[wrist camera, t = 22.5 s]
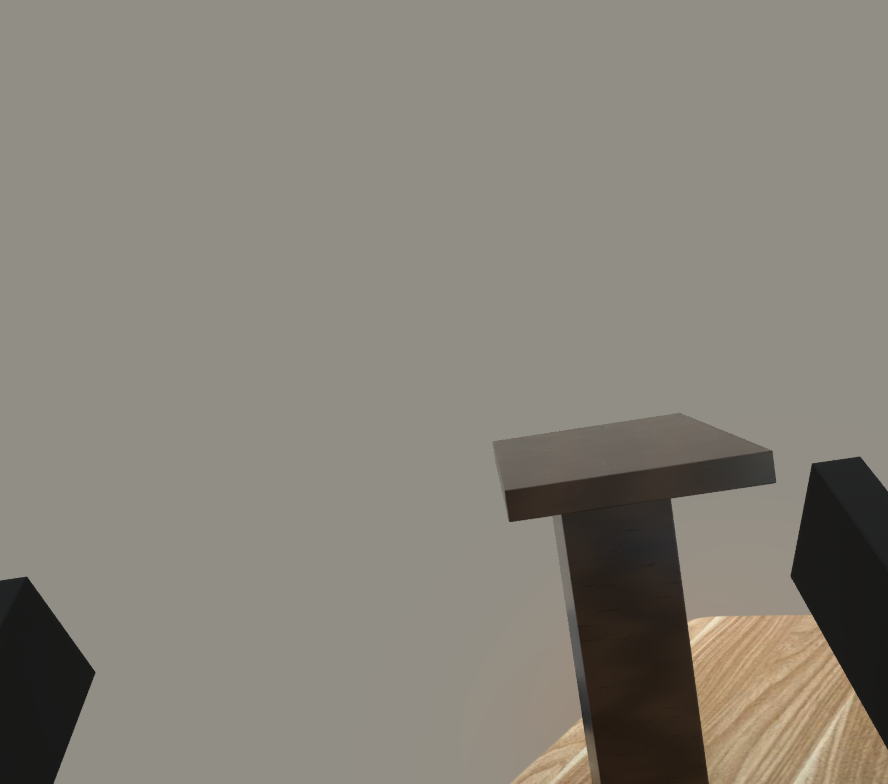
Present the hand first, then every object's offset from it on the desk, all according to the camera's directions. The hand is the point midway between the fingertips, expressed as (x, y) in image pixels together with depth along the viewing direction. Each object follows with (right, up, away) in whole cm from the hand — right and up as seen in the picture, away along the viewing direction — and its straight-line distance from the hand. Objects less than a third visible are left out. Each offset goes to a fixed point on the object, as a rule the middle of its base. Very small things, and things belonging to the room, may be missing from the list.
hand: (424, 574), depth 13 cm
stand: (+14, -28, +29) cm, 43 cm away
